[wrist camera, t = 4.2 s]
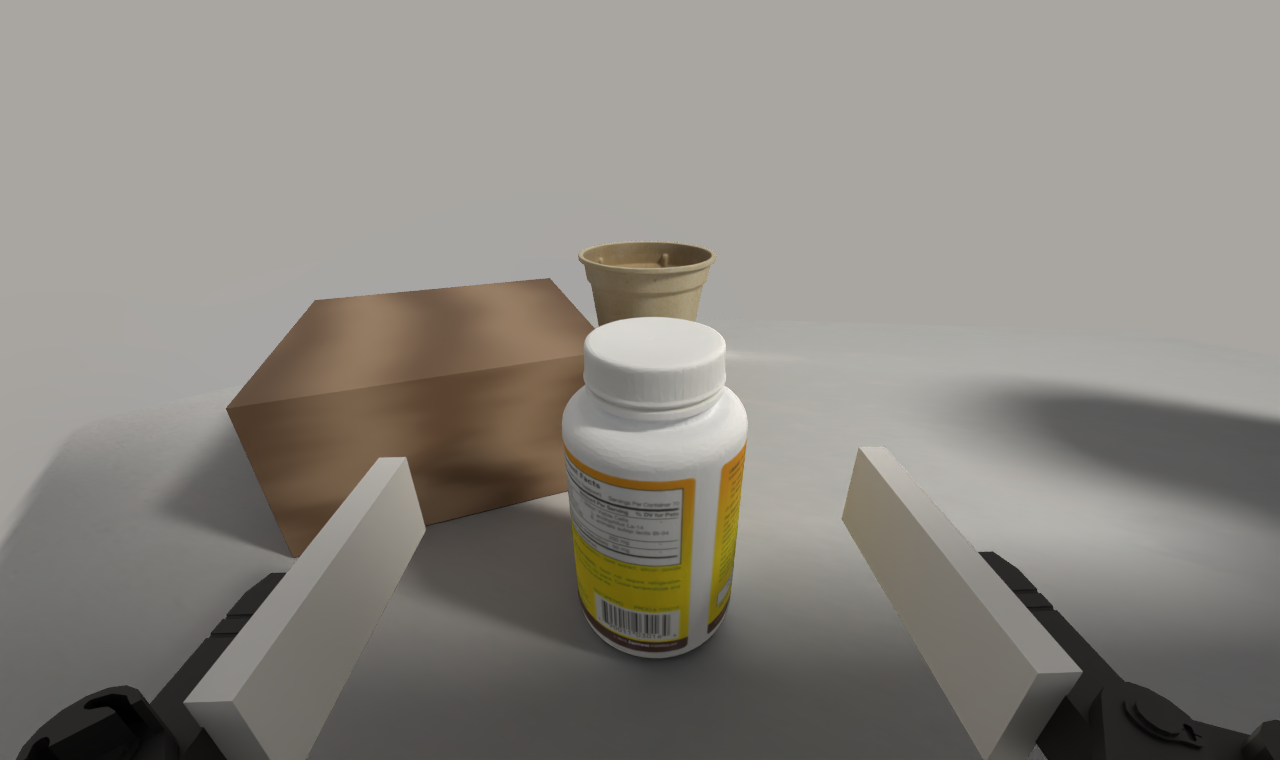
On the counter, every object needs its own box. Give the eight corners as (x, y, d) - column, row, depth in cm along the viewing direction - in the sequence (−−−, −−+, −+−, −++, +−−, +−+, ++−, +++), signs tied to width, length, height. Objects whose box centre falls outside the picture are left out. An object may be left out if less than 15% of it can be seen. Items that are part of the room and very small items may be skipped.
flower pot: (734, 366, 36) (744, 251, 32) (649, 410, 30) (650, 275, 26) (645, 336, 42) (645, 236, 38) (560, 367, 36) (550, 253, 32)
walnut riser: (558, 370, 35) (549, 278, 32) (617, 478, 24) (613, 350, 21) (348, 403, 31) (315, 300, 28) (293, 558, 19) (225, 408, 16)
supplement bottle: (684, 524, 21) (694, 299, 16) (760, 630, 16) (803, 357, 12) (561, 564, 19) (534, 321, 14) (607, 697, 14) (589, 400, 10)
